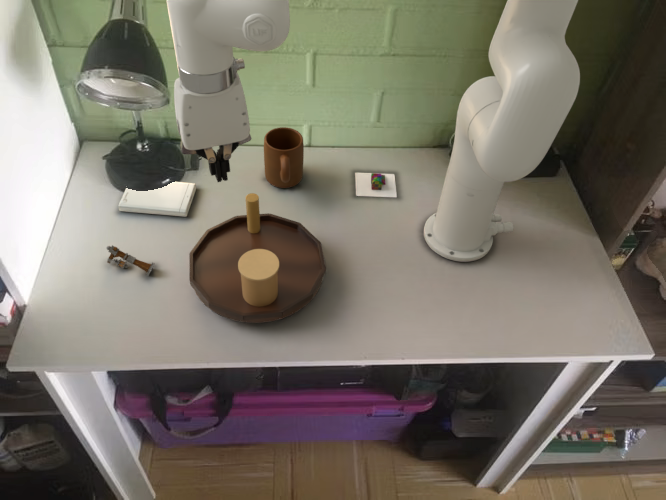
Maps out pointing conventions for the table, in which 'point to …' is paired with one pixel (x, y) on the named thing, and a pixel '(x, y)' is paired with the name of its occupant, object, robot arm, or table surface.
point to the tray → (248, 234)
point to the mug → (283, 157)
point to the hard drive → (160, 200)
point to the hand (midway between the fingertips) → (220, 175)
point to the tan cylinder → (259, 277)
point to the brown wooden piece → (127, 260)
